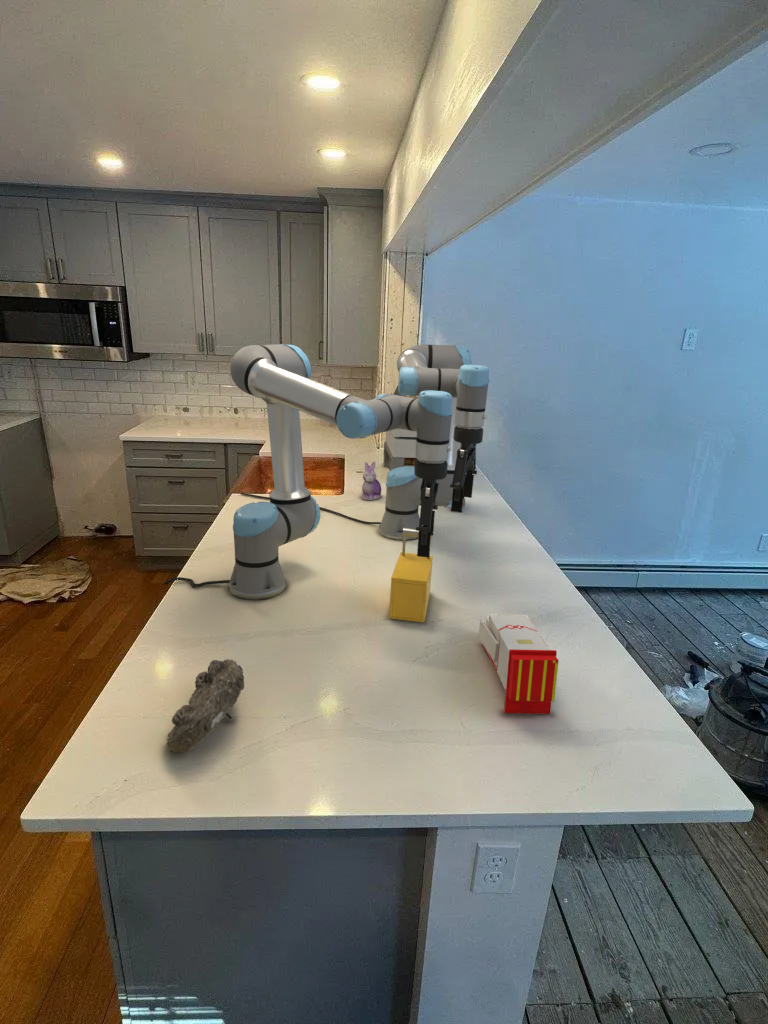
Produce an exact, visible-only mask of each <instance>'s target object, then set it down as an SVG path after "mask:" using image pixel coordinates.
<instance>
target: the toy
mask: <svg viewBox="0 0 768 1024" xmlns="http://www.w3.org/2000/svg"><path fill="white" fill-rule="evenodd" d="M477 635H478V637H477V638H478V639H479V641H480V643H481V645H482V647H483V649H484V651H485V652H486V654H487V655H488V658H489V659H490V661H491V663H492V665H493V667H494V669H495V671H496V672H497V675H498V677H499V679H500V682H501V684H502V685H503V688H504V690H505V699H504V709H503V712H504V714H522V715H523V714H528V715H535V714H536V715H540V714H541V715H551V710H552V702H555V700H556V699H555V698H556V688H557V679H558V672H559V671H558V669H559V661H560V660H559V659H558V658H557V649H551V648H550V646H549V645H548V643H547V642H546V640H545V639H544V638H543V636H542V635H541V634H540V632H539V630H538V629H536V626H535V624H533V622H532V619H530V618H529V617H528V615H527V614H501V613H500V614H495V613H493V614H492V613H489V614H488V616H486V617H485V622H484V620H483V619H480V620H479V628H478V634H477Z"/></svg>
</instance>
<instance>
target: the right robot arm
mask: <svg viewBox="0 0 768 1024" xmlns="http://www.w3.org/2000/svg"><path fill="white" fill-rule="evenodd" d="M396 368H397V371H398V383H397V384H398V385H397V386H398V391H399V394H401V395H407V396H415V397H417V396H418V397H419V394H420V393H421V392H422V391H427V390H434V391H444V392H448V393H449V394H451V396H452V416H451V426H450V437H449V446H448V447H451V448H452V450H451V451H448V459H447V460H446V461H447V463H448V466H447V476H446V477H445V478H444V479H441V480H437V481H436V483H439V486H438V492H437V496H436V504H435V505H438V507H444V508H447V507H449V508H450V512H453V513H460V514H461V513H463V507H462V505H463V497H464V498H469V499H471V498H472V497H473V487H474V480H475V479H474V478H475V475H478V470H477V445H478V444H481V443H482V442H483V438H484V428H483V427H484V426H485V420H487V418H488V416H487V415H486V406H487V398H488V389H489V383H490V369H489V367H488V366H486V365H482V364H481V365H480V364H472V356H471V353H470V350H469V349H468V347H466V346H462V345H456V344H453V345H451V344H426V343H425V344H424V343H423V344H416V345H413V346H410V347H408V348H406V349H405V350H403V351H402V352H401V353H400V354H399V356H398V358H397V361H396ZM458 442H460V443H461V447H460V449H458ZM457 449H458V450H457ZM414 471H415V466H407V465H404V467H398V468H395V469H392V470H391V471H390V470H389V471H388V473H387V475H386V482H385V487H386V488H385V489H386V490H385V504H384V505H385V507H384V508H385V509H384V513H383V515H382V519H381V522H380V521H365V520H361V519H358V518H355V517H352V516H349V515H345V514H344V513H341V512H338V511H335V510H331V509H329V508H326V507H321V506H319V508H320V510H322V511H326V512H329V513H333V514H335V515H339V516H340V517H343V518H346V519H349V520H351V521H354V522H358V523H362V524H367V525H378V533H379V534H380V535H381V536H382V537H385V538H387V539H389V540H395V541H403V535H402V533H403V528H411V529H416V527H419V521H420V513H419V507H421V501H420V498H421V490H420V489H421V485H422V482H424V481H425V480H424V479H422V478H418V477H416V476H415V474H414ZM240 495H244V496H248V497H253V498H259V499H265V500H270V497H269V496H262V495H256V494H252V493H245V492H240ZM415 539H418V537H409V536H406V541H410V540H415Z"/></svg>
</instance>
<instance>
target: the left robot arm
mask: <svg viewBox="0 0 768 1024" xmlns="http://www.w3.org/2000/svg"><path fill="white" fill-rule="evenodd" d="M229 369H230V370H229V372H230V376H231V379H232V381H233V383H234V385H235V386H236V387H237V388H238V389H239V390H240V391H242V392H244V393H245V394H248V395H250V396H253V397H255V398H258V399H261V400H262V401H264V402H265V404H266V409H267V410H266V411H267V412H266V413H267V421H268V432H269V433H268V435H269V445H270V446H269V447H270V455H271V456H270V457H271V466H272V468H271V469H272V479H273V490H272V491H271V492H270V493H269V495H268V497H270V499H269V501H257V502H249V503H246V504H243V505H242V506H240V507H239V508H237V509H236V511H235V512H234V514H233V519H232V520H233V522H232V523H233V524H232V531H233V543H234V546H233V547H234V566H233V570H232V572H231V575H230V579H222V580H221V579H220V580H209V581H203V582H199V583H195V581H194V579H192V578H188V577H181V576H176V577H171V578H169V579H167V580H166V581H164V582H163V585H165V586H166V585H168V584H170V583H172V582H174V581H175V582H176V581H184V582H189V583H190V584H191V586H192V587H195V588H198V587H199V588H200V587H204V586H208V585H220V584H222V585H223V584H229V592H230V593H231V594H232V595H233V596H235V597H236V598H240V599H244V600H248V601H249V600H250V601H251V600H252V601H255V600H256V601H258V600H266V599H270V598H274V597H276V596H278V595H280V594H281V593H283V592H284V591H285V590H286V587H287V581H286V575H285V573H284V571H283V567H282V566H281V563H280V560H279V547H281V546H284V545H286V544H288V543H289V544H290V543H291V542H294V541H296V540H299V539H302V538H304V537H307V536H308V535H309V534H312V533H313V532H314V531H315V530H316V529H317V528H318V526H319V523H320V521H321V509H320V508H319V507H320V505H319V504H318V503H317V500H316V499H315V498H314V497H313V496H312V495H311V491H310V490H309V489H308V488H307V487H306V485H305V472H304V457H303V441H302V430H301V429H302V428H301V416H300V412H302V413H304V414H306V415H309V416H312V417H315V418H316V419H318V420H322V421H324V422H327V423H329V424H332V425H333V426H336V427H337V429H338V431H339V432H340V433H341V434H342V436H343V437H346V438H347V439H351V440H355V439H364V438H367V437H370V436H374V435H378V434H382V433H386V431H390V430H394V429H403V430H409V431H416V432H417V440H416V451H415V457H416V458H417V460H416V461H415V466H414V467H415V471H414V474H415V476H416V477H418V478H422V479H424V480H425V481H424V482H422V485H421V489H420V490H421V498H420V501H421V506H420V511H419V518H420V521H419V527H416V531H419V535H418V538H417V552H416V554H417V556H419V557H429V550H430V551H431V547H430V536H432V537H433V536H434V528H435V516H436V511H438V509H439V506H438V505H435V504H436V496H437V492H438V486H439V483H436V481H437V480H441V479H444V478H445V477H446V476H447V466H448V463H447V461H446V460H447V459H448V451H451V450H452V448H451V447H448V446H449V437H450V426H451V416H452V396H451V394H449V393H448V392H444V391H434V390H427V391H422V392H421V393H420V394H419V396H418V397H419V398H411V397H404V396H398V395H394V393H380V394H378V395H376V397H375V398H373V399H363V398H361V397H358V396H355V395H353V394H351V393H348V392H345V391H342V390H340V389H337V388H334V387H332V386H329V385H326V384H324V383H321V382H318V381H316V380H314V379H311V376H312V366H311V362H310V360H309V358H308V356H307V354H306V353H305V352H304V351H303V350H302V349H301V348H300V347H298V346H297V345H294V344H289V343H288V344H286V343H279V344H278V343H277V344H276V343H275V344H251V345H247V346H244V347H242V348H240V349H239V350H237V352H235V354H234V355H233V357H232V359H231V361H230V366H229ZM177 579H178V580H177Z"/></svg>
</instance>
